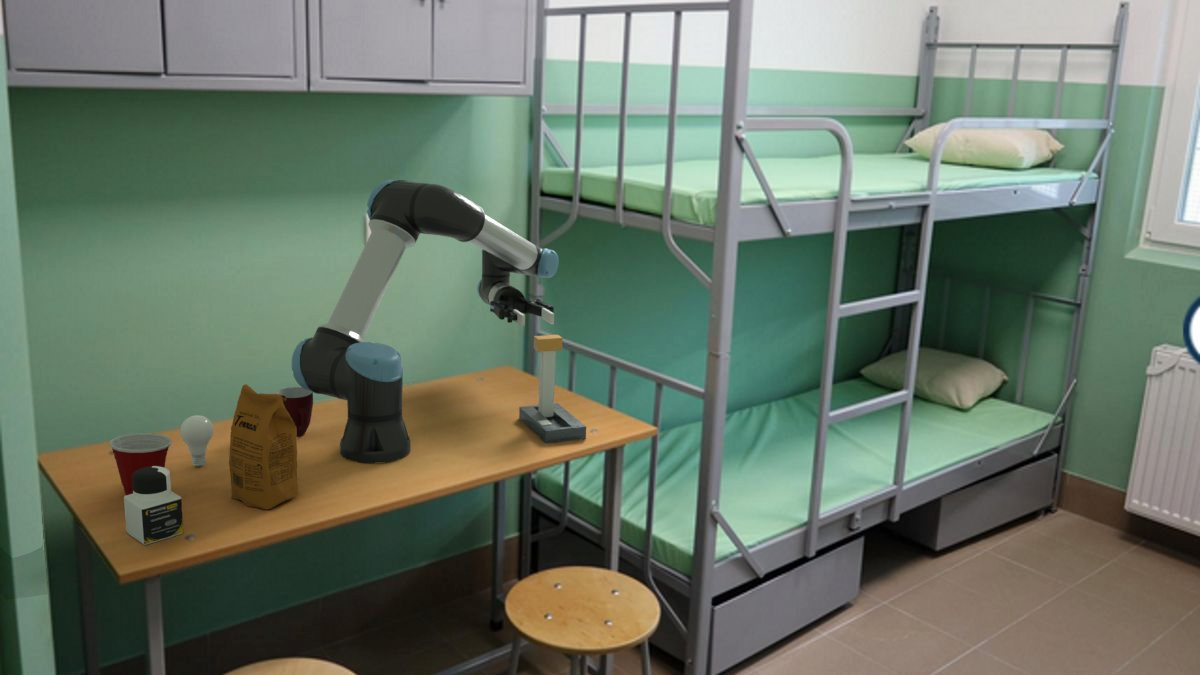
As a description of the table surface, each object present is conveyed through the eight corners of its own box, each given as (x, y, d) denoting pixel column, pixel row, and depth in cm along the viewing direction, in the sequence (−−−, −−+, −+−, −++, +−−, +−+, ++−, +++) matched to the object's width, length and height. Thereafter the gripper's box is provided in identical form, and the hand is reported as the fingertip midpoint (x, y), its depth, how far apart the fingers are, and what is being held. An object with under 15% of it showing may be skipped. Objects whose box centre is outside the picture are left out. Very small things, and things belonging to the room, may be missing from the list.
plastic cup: (186, 499, 194) (182, 440, 192) (129, 515, 187) (124, 454, 184) (159, 483, 201) (155, 425, 198) (103, 498, 194) (98, 438, 191)
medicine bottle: (144, 546, 175) (139, 481, 172) (125, 533, 180) (120, 469, 177) (184, 534, 180) (180, 470, 177) (165, 521, 185) (161, 459, 182)
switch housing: (519, 418, 248) (519, 406, 247) (557, 414, 252) (557, 402, 252) (545, 443, 232) (546, 430, 232) (585, 438, 236) (586, 425, 236)
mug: (326, 438, 229) (325, 396, 227) (293, 446, 224) (291, 403, 221) (303, 426, 237) (302, 385, 234) (270, 433, 231) (269, 391, 229)
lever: (531, 414, 246) (534, 336, 241) (555, 412, 248) (557, 334, 243) (536, 418, 243) (538, 339, 238) (559, 416, 245) (562, 337, 240)
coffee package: (264, 482, 204) (260, 377, 199) (306, 498, 198) (302, 389, 192) (221, 497, 196) (216, 388, 191) (263, 514, 190) (258, 402, 184)
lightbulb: (182, 462, 212) (178, 412, 209) (214, 459, 215) (211, 409, 212) (183, 473, 207) (179, 422, 204) (216, 470, 209) (213, 419, 206)
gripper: (542, 311, 271) (575, 332, 251) (470, 315, 263) (498, 337, 243) (542, 284, 269) (576, 302, 249) (470, 287, 261) (499, 306, 241)
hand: (537, 319), depth 246 cm, fingers open, 7 cm apart
